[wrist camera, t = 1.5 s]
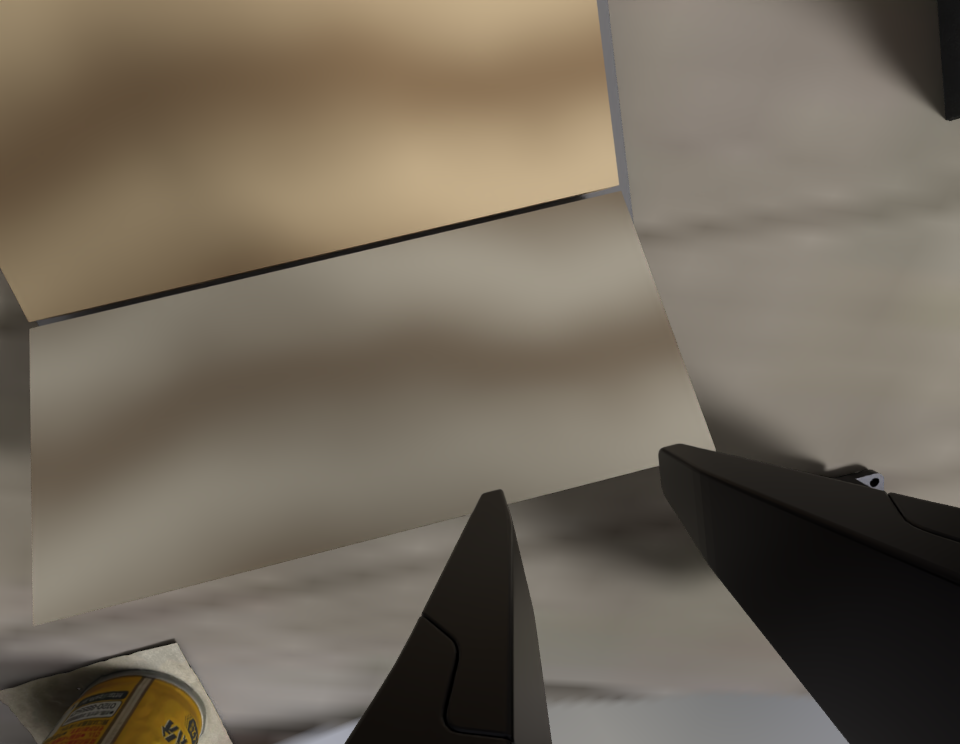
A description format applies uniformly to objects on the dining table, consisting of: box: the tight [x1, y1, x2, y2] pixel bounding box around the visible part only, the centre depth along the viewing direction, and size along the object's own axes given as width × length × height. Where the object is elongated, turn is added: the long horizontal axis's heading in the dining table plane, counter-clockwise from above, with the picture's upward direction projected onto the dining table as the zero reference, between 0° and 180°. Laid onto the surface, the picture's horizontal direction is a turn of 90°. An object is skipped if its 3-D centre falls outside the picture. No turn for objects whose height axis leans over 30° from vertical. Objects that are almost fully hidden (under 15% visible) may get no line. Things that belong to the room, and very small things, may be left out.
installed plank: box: [0, 0, 619, 322], centre depth 14 cm, size 9×20×2 cm, turn 103°
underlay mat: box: [36, 0, 634, 326], centre depth 17 cm, size 23×22×1 cm
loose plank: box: [29, 191, 716, 626], centre depth 15 cm, size 9×20×2 cm, turn 102°
